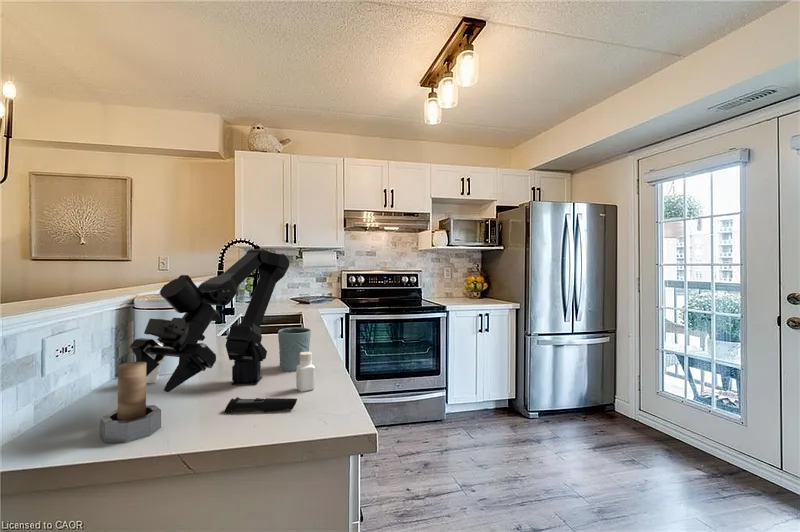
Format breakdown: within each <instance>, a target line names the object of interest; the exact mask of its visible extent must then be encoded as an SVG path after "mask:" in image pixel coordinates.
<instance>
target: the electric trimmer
mask: <svg viewBox="0 0 800 532" xmlns="http://www.w3.org/2000/svg"><path fill="white" fill-rule="evenodd" d="M297 401H298V398H291V397H290V398H285V397H282V398H274V397H273V398H272V397H269V398H268V397H265V398H260V397H259V398H257V397H256V398H240V397H239V396H236V398H231V399H230V400H229V402H228V403H227V405H226V407H225V409H224V411H223V413H225V414H230V413H232V412H235V413H236V412H256V411H257V412H263V413H271V412H281V411H289V410H293V409H294V408H295V405H296V404H297Z"/></svg>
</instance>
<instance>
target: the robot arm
mask: <svg viewBox="0 0 800 532" xmlns="http://www.w3.org/2000/svg"><path fill="white" fill-rule="evenodd" d="M289 267H290V259H289V258H288V256H287V255H286V254H285V253H276V252H272V251H268V250H266V249H264V248H250V249H248V250H247V251H246V253H245V254H244V255H243V256H242V257H240V258H239V259H238V260H237V261H236V262H235V263H234V264H232V265H231V266H230V267H228V269H227V270H225V271H224V272H223V273H221V274H220V275H215V276H213V277H211V278H209V279H207V280H205V281H203V282H201V283H200V284H199V285H198V286H197V285H196V283H194V282H193V280H192V278H191V277H190V276H189V274H180V275H179V277H177V278H175V279H173V280H171V281H169V282H167V283H165V284H164V285H163V286H162V287H161V289H160V291H159V295H160V297H162V298H163V300H165V301H166V302H167V303H168V305H170V306H171V308H172V309H174V311H176V313H179V314H184V315H182V318H181V317H173V318H172V319H171V320H169V319H163V318H161V319H160V318H149V319H148V323H147V324H146V327H145V329H144V331H143V332H144V333H143V334H144V335H148V336H149V335H151V336H154V337H157V339H156V340H157V341H158V342H156V341H155V340H154V339H153V338H143V337H142V338H141V337H140V338H136V339H134V341H132V343H131V345H130V346H129V349H131V352H132V353H133V354H134V357H135V359H136V360H135V362H146V377H147V375H149V374H150V373H151V372H152V371H153V370H154V369H155V368H156V367H157V366H158V365H159V363H157V362H159V361H161V360H162V359H163V358H164V356H166V357H173V358H179V359H178V365H177V366H176V368H175V370H174V371H173V372H172V374H171V375H170V378H169V379H168V381H167V382H166V384H165V386H164V388H163V391H164V392H165V393H170V392H171V391H173V390H174V389H176V388H177V387H179V386H180V385H181V384H183V383H185V382H186V381H188V380H189V379H191V378H193V377H194V376H195V375H197V374H199V373H201V372H205V371H206V369H212V368H213V366H214V364H215V363H216V362H217V354H216V353H215V352H214V351H213V350H212V349H211V348H210V347H209V346H208V345H207V344H206V343H200V342H199V341H202V342H203V341H204V340H205V338H206V336H205V335H204V333H205V332H206V330H207V328H208V327H209V326H210V324H211V322H221V320H222V318H221V315H220V310H219V309H215V308H214V307H213V306H228V304H230V303H231V301H232V300H233V299H234V298H235V296H236V295H237V293H238V287H239V286H240V285H241V284H242V283H243V282H244V281H245V280H246V279H247V278H248V277H249V276H250V275H251V274H252V273H254V271H256V270H257V272H258V277H259V278H258V281H257V283H256V286H255V288H254V291H253V293H252V296H251V298H250V300H249V303H248V306H247V308H246V311H245V314H244V316H243V318H242V321H241V322H240V323H239V324H238V325H237V324H232V325H231V327H230V329H229V332H228V335H227V336H226V338H225V340H226V342H225V348H226V353H227V356H228V360H229V361H233V362H234V363H233V365H232V367H231V370H232V371H231V381H232V382H231V386H255V385H257V384H259V382H260V381H261V380H262V379H263V376H261V375H262V374H261V371H262V369H261V367H262V365H261V364H262V363H261V362H263V361H264V360H265V359H267V353H268V351H267V349H266V348H265V346H264V345H263V344H262V343H261V342H262V338H263V336H262V332H261V331H262V330H261V325H262V322H263V319H264V316H265V314H266V312H267V308H268V305H269V303H270V300H271V297H272V295H273V294H274V293H273V292H274V289H275V287H276V284H277V283H278V282H279V281H280V280H282V279H283V278H284V277H285V275H286V273H287V271H288V270H289ZM158 343H160V344H162V345H163V346H160V345H159V344H158Z"/></svg>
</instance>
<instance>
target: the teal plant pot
mask: <svg viewBox="0 0 800 532" xmlns="http://www.w3.org/2000/svg"><path fill="white" fill-rule="evenodd" d="M311 334H312V330H311V329H310V328H306V327H285V328H281V329H279V330H278V331H277V335H278V336H277V338H278V339H277V340H278V349H279V350H278V351H279V369H280V370H281V371H282V370H283V371H284V372H291V371H293V372H296V367H297V366H298V365H300V361H299V360H300V353H301V352H310V346H311V345H310V343H311Z"/></svg>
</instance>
